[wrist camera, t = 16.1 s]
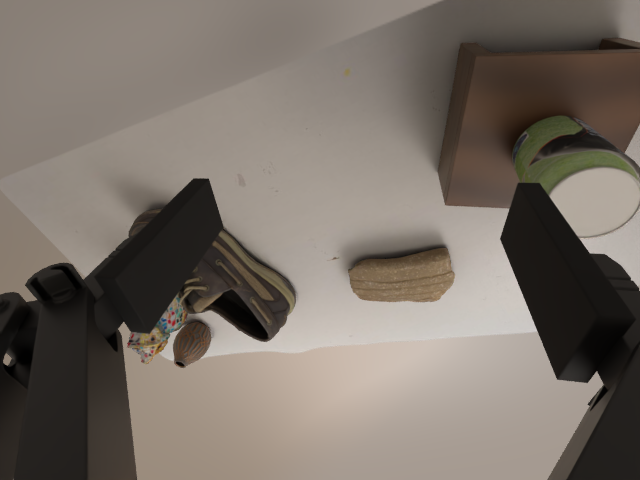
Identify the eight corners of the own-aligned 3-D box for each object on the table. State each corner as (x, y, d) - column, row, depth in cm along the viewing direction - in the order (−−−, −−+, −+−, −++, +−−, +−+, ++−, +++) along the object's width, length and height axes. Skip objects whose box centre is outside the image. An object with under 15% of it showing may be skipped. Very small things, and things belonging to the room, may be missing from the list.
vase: (197, 339, 75) (176, 375, 68) (178, 319, 71) (155, 355, 64) (221, 336, 72) (203, 373, 65) (204, 315, 69) (182, 352, 62)
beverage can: (556, 184, 32) (624, 267, 22) (482, 163, 32) (519, 236, 22) (606, 120, 28) (712, 188, 18) (521, 96, 28) (585, 151, 19)
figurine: (213, 289, 63) (171, 359, 51) (187, 306, 68) (144, 373, 56) (176, 260, 60) (123, 327, 48) (152, 280, 64) (98, 345, 53)
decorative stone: (344, 256, 52) (342, 271, 50) (449, 242, 47) (453, 258, 45) (360, 300, 58) (358, 315, 55) (456, 291, 53) (459, 308, 50)
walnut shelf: (460, 42, 33) (475, 56, 27) (620, 37, 31) (678, 51, 24) (437, 172, 41) (445, 205, 35) (561, 176, 39) (593, 212, 33)
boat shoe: (156, 185, 50) (108, 225, 42) (314, 282, 57) (300, 333, 49) (139, 229, 57) (95, 272, 48) (283, 312, 63) (266, 362, 55)
